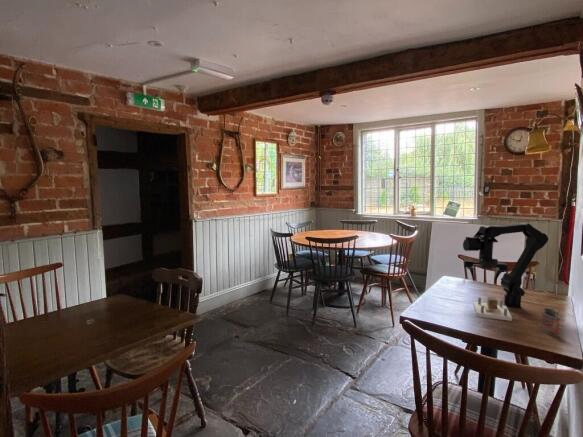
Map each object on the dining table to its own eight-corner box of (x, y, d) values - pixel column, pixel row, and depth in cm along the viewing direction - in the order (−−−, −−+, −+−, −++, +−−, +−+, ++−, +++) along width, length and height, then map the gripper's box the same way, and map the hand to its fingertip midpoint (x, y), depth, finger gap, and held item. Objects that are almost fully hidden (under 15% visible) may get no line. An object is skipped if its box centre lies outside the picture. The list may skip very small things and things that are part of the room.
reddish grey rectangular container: (537, 327, 150) (539, 305, 149) (544, 327, 150) (547, 305, 149) (553, 336, 142) (555, 312, 141) (560, 336, 142) (563, 312, 141)
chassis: (505, 308, 171) (506, 299, 171) (511, 321, 157) (512, 311, 156) (473, 304, 177) (474, 296, 176) (476, 316, 162) (477, 306, 162)
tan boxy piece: (497, 307, 170) (498, 296, 169) (500, 313, 161) (501, 302, 161) (483, 305, 172) (484, 295, 171) (485, 311, 164) (486, 300, 163)
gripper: (466, 252, 169) (463, 284, 171) (511, 255, 162) (508, 288, 164) (464, 248, 179) (462, 278, 181) (506, 251, 172) (504, 282, 174)
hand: (483, 281), depth 175 cm, fingers open, 9 cm apart
